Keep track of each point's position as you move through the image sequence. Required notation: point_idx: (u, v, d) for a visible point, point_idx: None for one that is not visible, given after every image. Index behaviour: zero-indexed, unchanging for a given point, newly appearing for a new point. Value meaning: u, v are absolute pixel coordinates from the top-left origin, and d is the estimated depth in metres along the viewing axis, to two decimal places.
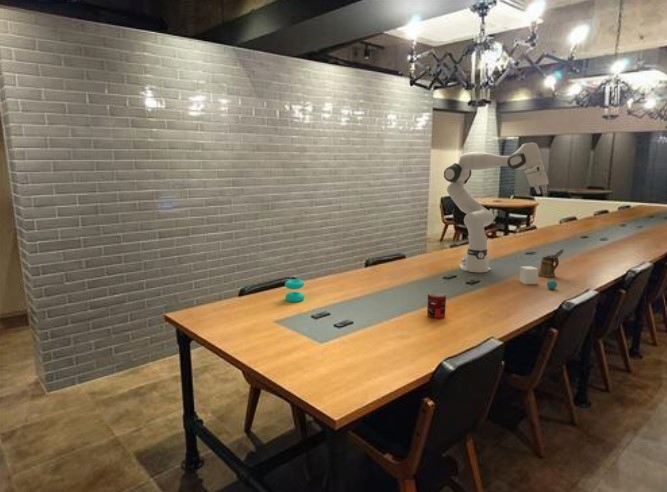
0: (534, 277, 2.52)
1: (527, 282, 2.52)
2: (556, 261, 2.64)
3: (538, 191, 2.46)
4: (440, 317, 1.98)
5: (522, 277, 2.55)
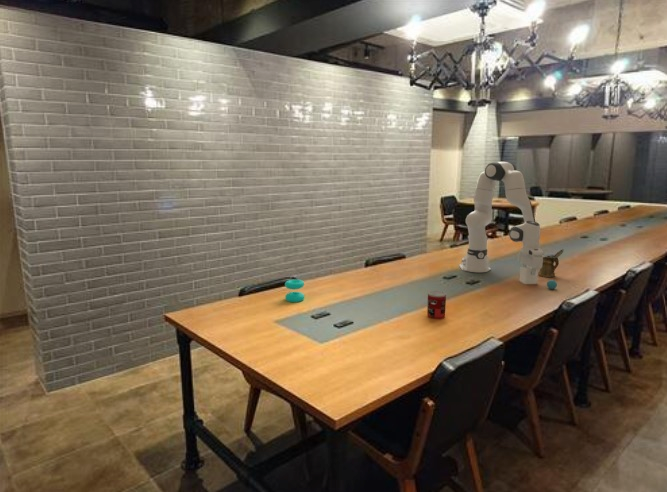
0: (533, 277, 2.52)
1: (527, 282, 2.52)
2: (556, 261, 2.64)
3: (534, 273, 2.50)
4: (440, 317, 1.98)
5: (522, 277, 2.55)
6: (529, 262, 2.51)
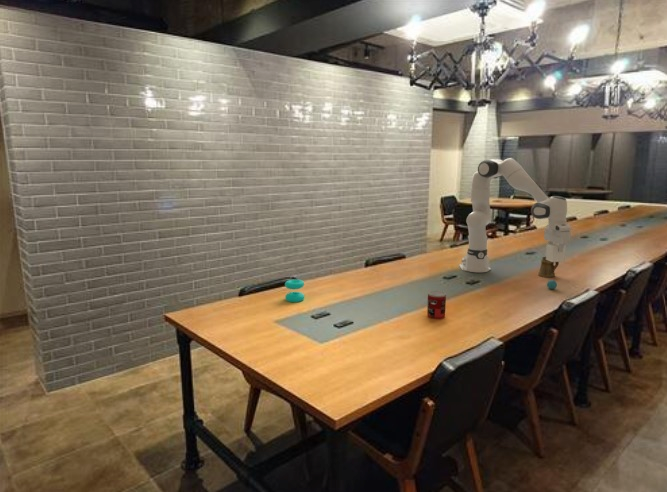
0: (561, 254, 2.41)
1: (554, 260, 2.41)
2: None
3: (561, 249, 2.39)
4: (440, 317, 1.98)
5: (549, 255, 2.45)
6: (556, 238, 2.40)
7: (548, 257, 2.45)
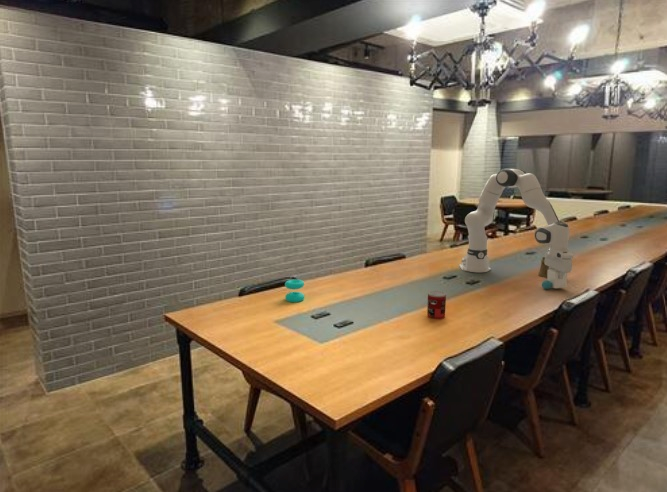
0: (563, 280, 2.39)
1: (556, 286, 2.39)
2: None
3: (562, 276, 2.37)
4: (440, 317, 1.98)
5: (550, 281, 2.42)
6: (557, 265, 2.37)
7: None
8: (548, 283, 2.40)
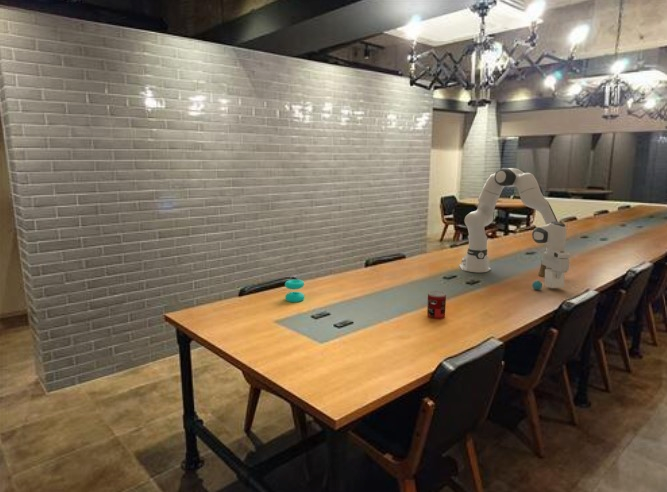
0: (560, 280, 2.38)
1: (553, 286, 2.39)
2: None
3: (559, 276, 2.36)
4: (440, 317, 1.98)
5: (547, 280, 2.42)
6: (554, 265, 2.37)
7: (547, 282, 2.43)
8: (537, 288, 2.39)
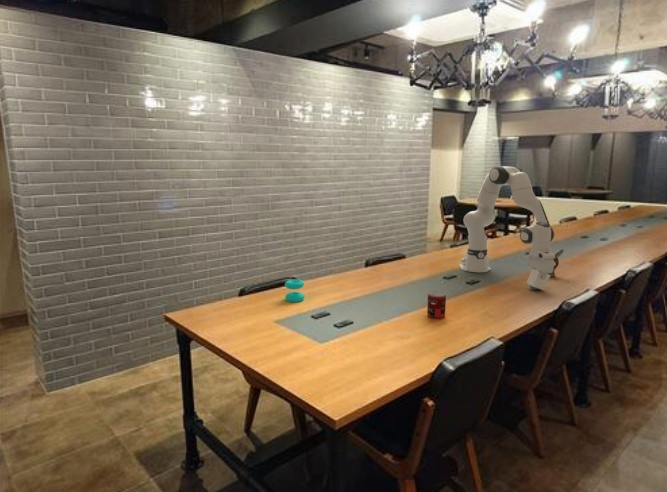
0: (543, 282, 2.38)
1: (535, 285, 2.38)
2: (556, 261, 2.64)
3: (544, 277, 2.36)
4: (440, 317, 1.98)
5: (531, 279, 2.41)
6: (539, 266, 2.36)
7: (530, 281, 2.42)
8: (536, 288, 2.39)
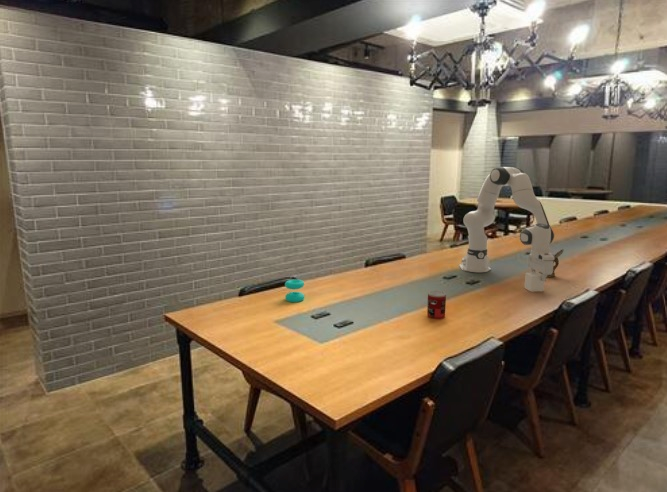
0: (539, 284, 2.38)
1: (533, 289, 2.38)
2: (556, 261, 2.64)
3: (544, 279, 2.35)
4: (440, 317, 1.98)
5: (527, 284, 2.41)
6: (538, 267, 2.37)
7: (527, 286, 2.42)
8: None
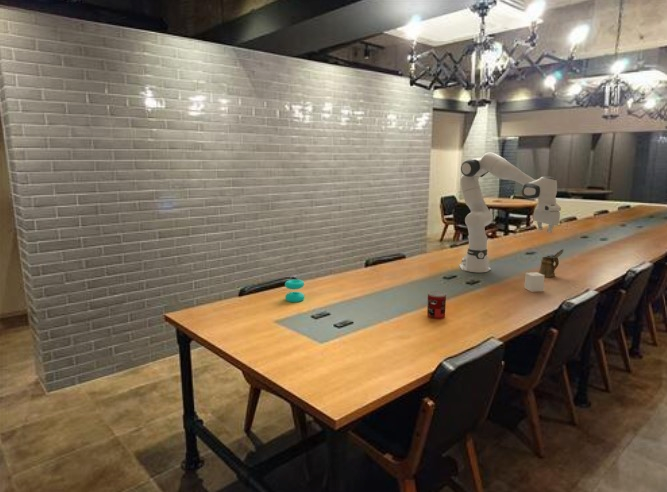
0: (539, 284, 2.38)
1: (533, 289, 2.38)
2: (556, 261, 2.64)
3: (550, 230, 2.39)
4: (440, 317, 1.98)
5: (527, 284, 2.41)
6: (545, 219, 2.40)
7: (527, 286, 2.42)
8: None
